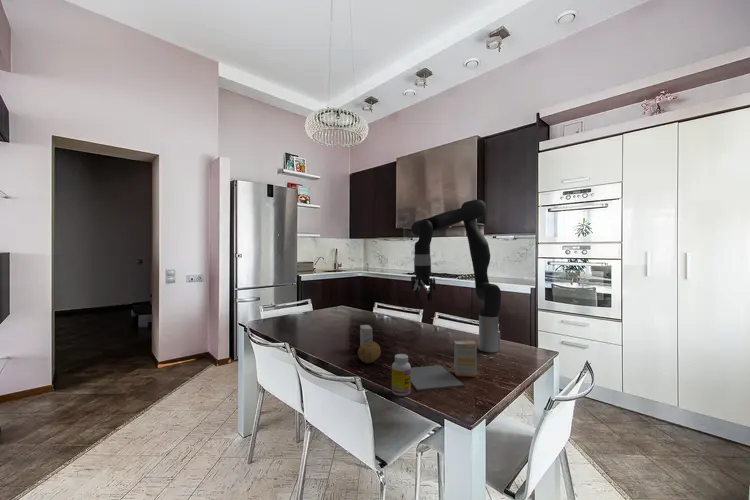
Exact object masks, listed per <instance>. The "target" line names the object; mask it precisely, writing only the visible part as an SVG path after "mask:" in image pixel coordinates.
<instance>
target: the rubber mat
mask: <svg viewBox="0 0 750 500" xmlns="http://www.w3.org/2000/svg"><path fill="white" fill-rule="evenodd" d="M464 385H465V384H464V383H463V382H462V381H460V379H458V378H457V377H455V376H454V375H453V374H452V373H451V372H449V370H447V369H446V368H445V367H443V366H442V365H428V366H416V367H415V366H414V367H411V386H413V387H414V388H415V390H416V391H417V392H420V391H430V390H442V389H450V388H460V387H464Z"/></svg>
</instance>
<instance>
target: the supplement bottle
mask: <svg viewBox="0 0 750 500" xmlns="http://www.w3.org/2000/svg"><path fill="white" fill-rule="evenodd" d="M411 368H412V367H411V364H410V363H409V356H408V354H405V353H398V354H395V355H394V362H393V363H392V364H391V392H392V395H395V396H398V397H405V396H409V395H410V394H411V390H412V389H411V387H412V384H411Z"/></svg>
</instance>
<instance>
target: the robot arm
mask: <svg viewBox="0 0 750 500" xmlns="http://www.w3.org/2000/svg"><path fill="white" fill-rule="evenodd" d="M486 212H487V206H486V203H485V201H483V200H481V199H472V200H468V201H465V202H463V203H462V204H461V206H460V208H456V209H454V210H448V211H445V212H441V213H438V214H436V215H433V216H430V217H427V218H424V219H419V220H416V221H414V223H412V225H411V233H412V234H413V235H415V236H417V237H418V240H417V241H416V242H415V243H414V259H413V269H414V270H413V272H414V275H413V276H411V277H410V289H411V290H413V291H414V292H413V293H414V299H415V300H419V299H420V291H419V290H420V289H421V288H423V289H424V290H425V291H426V302H428V303H429V302H432V301H433V293H435V292H436V290H437V289H436V286H437V285H436V278H435V277H432V278H431V277H430V275H432V258H431V242H432V237H433V232H437V231H440V230H443V229H446V228H448V227H451V226H454V225H455V224H459V223H460V222H461V223H462V222H463V225H464V229H465V232H466V236H467V238H466V239H467V241H468V242H467V243H468V246H469V253H470V258H471V263H472V269H473V270H472V271H473V274H474V285H475V286H474V287H475V294H476V297H477V298H478V299H479V300H480V301H483V302H484V303H483V304H484V305H483V307H481V308H480V309H478V349H479V351H481V352H485V353H497V352H500V351H501V331H500V330H499V313H500V311H501V307H502V306H501V305H502V304H501V303H502V291H501V288H500V287H499V285H497V284H494V283H490V281H489V276H488V269H489V265H490V261H491V252H490V247H489V243H488V240H487V239H486V238H485V236H484V235H483V234H482V232H481V231H480V228H479V226H478V222H477V219H481V218H483V217H484V216H485V214H486Z"/></svg>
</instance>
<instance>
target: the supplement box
mask: <svg viewBox="0 0 750 500" xmlns="http://www.w3.org/2000/svg"><path fill="white" fill-rule="evenodd" d="M477 346H478V345H477V342H475V340H453V358H454V359H453V361H454V363H453V364H454V366H453V371H454V375H455V376H456V377H470V378H471V377H475V378H476V377H477V375H478V373H477V372H478V369H477V368H478V367H477V366H478V365H477V363H478V361H477V360H478V359H477V353H478V352H477V351H478V350H477V349H478V348H477Z"/></svg>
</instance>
